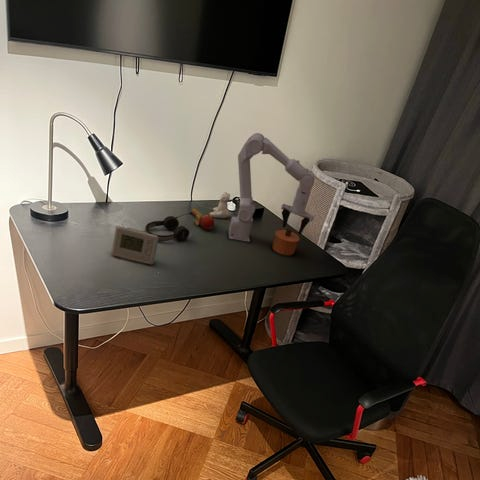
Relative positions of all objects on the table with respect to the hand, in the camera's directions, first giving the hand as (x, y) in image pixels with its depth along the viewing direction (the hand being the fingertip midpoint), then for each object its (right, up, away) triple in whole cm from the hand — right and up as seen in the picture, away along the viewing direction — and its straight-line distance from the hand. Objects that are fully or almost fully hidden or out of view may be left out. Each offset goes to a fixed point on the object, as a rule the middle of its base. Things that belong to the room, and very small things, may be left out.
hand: (292, 230), depth 206 cm
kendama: (-40, +5, +10) cm, 42 cm away
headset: (-53, -4, -8) cm, 54 cm away
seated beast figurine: (-32, +11, +21) cm, 40 cm away
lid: (-2, -3, 0) cm, 3 cm away
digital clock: (-62, -16, -30) cm, 71 cm away
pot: (-4, -8, +4) cm, 10 cm away
